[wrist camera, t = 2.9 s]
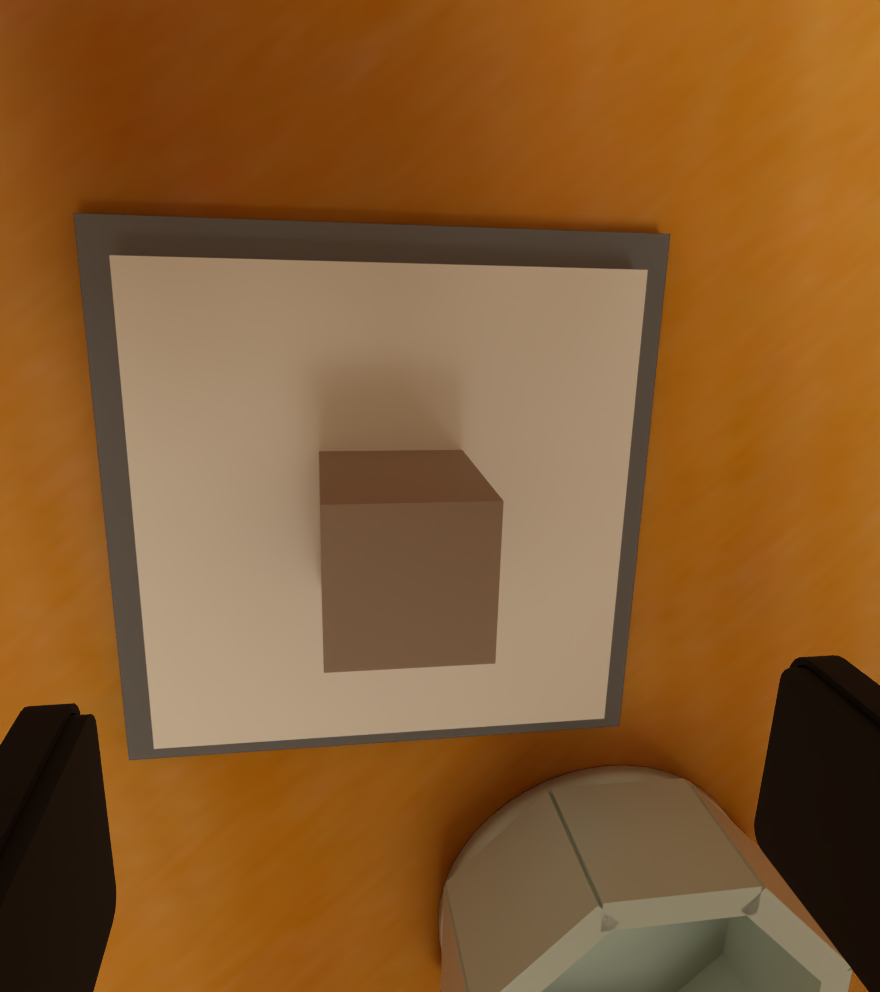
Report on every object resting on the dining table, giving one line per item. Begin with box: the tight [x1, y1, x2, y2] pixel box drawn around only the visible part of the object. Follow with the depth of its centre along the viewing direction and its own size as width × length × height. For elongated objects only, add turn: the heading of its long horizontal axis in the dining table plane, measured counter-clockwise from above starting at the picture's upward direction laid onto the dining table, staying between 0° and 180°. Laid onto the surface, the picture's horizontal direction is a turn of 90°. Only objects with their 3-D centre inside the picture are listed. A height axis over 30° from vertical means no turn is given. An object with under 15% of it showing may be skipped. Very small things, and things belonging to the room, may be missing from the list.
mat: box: [74, 213, 670, 760], centre depth 23 cm, size 16×16×1 cm
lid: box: [109, 255, 648, 749], centre depth 20 cm, size 14×14×6 cm
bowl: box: [438, 765, 853, 992], centre depth 27 cm, size 12×12×6 cm
